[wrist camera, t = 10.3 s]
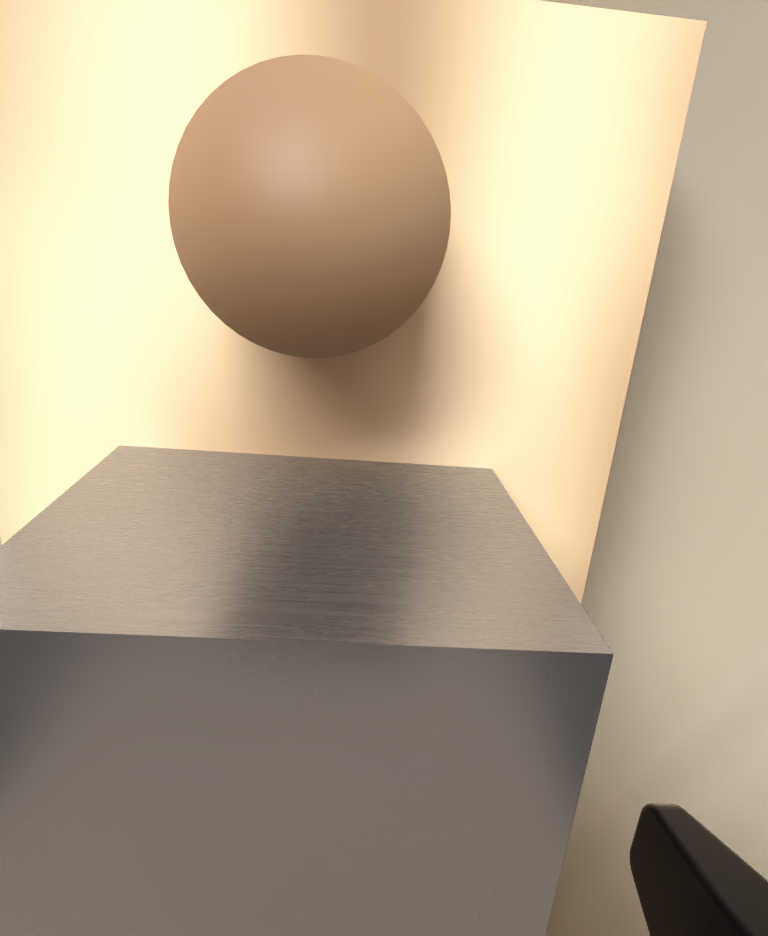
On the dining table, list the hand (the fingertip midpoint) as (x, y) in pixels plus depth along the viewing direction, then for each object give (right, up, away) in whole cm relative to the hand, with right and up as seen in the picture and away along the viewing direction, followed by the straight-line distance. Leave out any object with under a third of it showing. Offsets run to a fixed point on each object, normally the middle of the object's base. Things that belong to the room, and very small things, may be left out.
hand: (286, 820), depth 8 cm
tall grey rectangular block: (0, +1, +4) cm, 4 cm away
